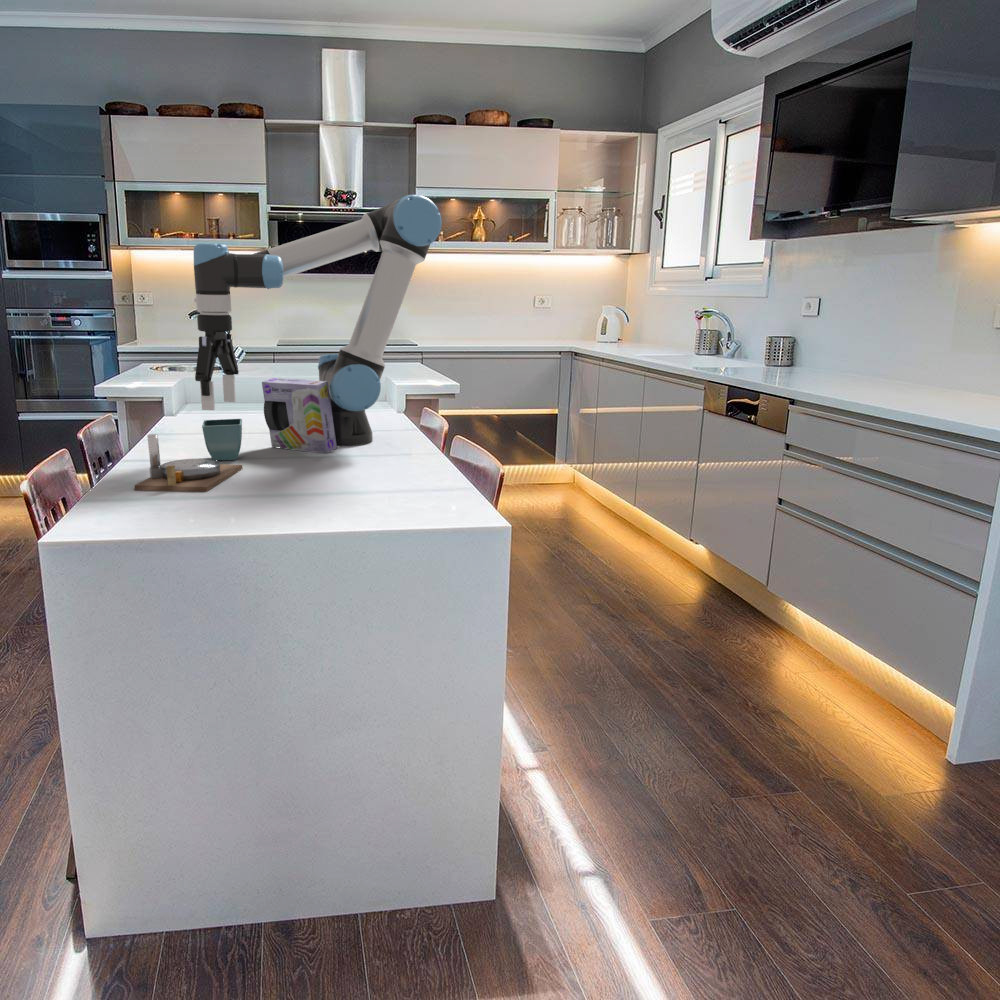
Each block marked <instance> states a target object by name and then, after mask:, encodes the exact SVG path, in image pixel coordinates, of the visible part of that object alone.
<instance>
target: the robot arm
mask: <svg viewBox="0 0 1000 1000" xmlns="http://www.w3.org/2000/svg"><path fill="white" fill-rule="evenodd" d="M442 223H443V222H442V215H441V212H440V211H439V208H438V206H437V205H436V204H435V203H434V202H433V200H431V199H430V198H428V197H426V196H424V195H419V194H408V195H404V196H403V197H400V198H397V199H394V200H392V201H391V202H389V203H387V204H386V205H384V206H382V207H380V208H377V209H375V210H372V211H370V212H366V213H364V214H363V216H362V218H361V219H359V220H355V221H353V222H349V223H346V224H342V225H340V226H337V227H334V228H333V227H332V228H330V229H327V230H323V231H320V232H318V233H315V234H312V235H309V236H305V237H301V238H299V239H298V238H297V239H296V240H293V241H290V242H289V241H288V242H286V243H282V244H281V245H280V244H279V245H277V246H273V247H270V248H267V249H264V250H262V251H258V252H255V253H254V252H253V253H252V254H251V253H246V254H245V253H233V252H232V253H230V252H229V249H228V245H226V244H224V243H196V244H195V246H193V273H194V274H193V275H194V287H195V298H194V303H196V311H197V313H199V314H197V316H196V320H197V330H198V331H199V332H204V334H205V335H204V336H198V350H197V351H198V352H197V359H196V360H197V361H196V367H195V374H194V379H195V381H196V382H199V384H200V403H201V411H215V410H216V408H215V406H216V405H215V393H214V392H215V391H214V390H215V389H214V388H215V387H214V381H212V378H213V375H214V374H213V373H214V369H215V366H216V361H217V359H218V361H219V364H220V366H221V369H222V372H223V373H224V374H222V389H223V392H222V393H223V403H236V402H237V396H236V395H237V394H236V393H237V392H236V379H235V377H236V375H239V373H240V372H239V371H240V370H239V367H238V362H237V359H236V354H235V349H234V346H233V341H232V340H233V339H232V334H231V333H226V332H231V331H232V330H233V321H232V320H233V319H232V316H231V314H230V313H231V312H232V300H231V288H234V289H235V288H245V289H247V288H248V289H249V288H250V289H267V290H269V289H270V290H271V289H281V288H282V286H283V284H284V278H288V277H290V276H293V275H296V274H300V273H303V272H306V271H308V270H313V269H315V268H319V267H321V266H324V265H328V264H330V263H333V262H336V261H339V260H343V259H346V258H349V257H352V256H356V255H359V254H361V253H364V252H367V251H371V250H372V251H374V252H376V253H377V252H380V251H382V252H381V254H380V258H379V260H378V264H377V267H376V269H375V272H374V275H373V278H372V279H371V282H370V285H369V288H368V291H367V294H366V297H365V299H364V302H363V304H362V308H361V310H360V313H359V315H358V318H357V321H356V324H355V327H354V329H353V332H352V335H351V337H350V340H349V343H347V344H346V345H345V346H343V347H340V348H339V350H338V351H339V352H338V353H331V354H322V355H320V356H319V357H318V365H317V369H318V381H328V386H329V394H330V401H331V408H332V416H333V423H334V430H335V437H336V445H337V447H348V446H351V447H352V446H359V445H365V444H370V443H371V442H373V439H374V438H373V431H372V428H371V424H370V423H369V420H368V419H369V418H368V415H367V414H366V413H367V412H366V410H367V409H369V408H371V407H372V406H374V404H375V403H376V402H377V400H378V399H379V397H380V393H381V389H382V387H381V386H382V383H381V378H382V376H383V374H384V371H385V367H386V364H385V361H384V360H383V355H384V352H385V349H386V346H387V344H388V341H389V339H390V336H391V333H392V331H393V328H394V324H395V322H396V319H397V317H398V314H399V311H400V310H401V306H402V304H403V301H404V298H405V296H406V293H407V290H408V287H409V286H410V285H409V284H410V281H411V279H412V277H413V274H414V271H415V269H416V266H417V265H418V264H420V263H424V262H425V259H426V257H427V255H428V251H429V248H430V246H431V244H432V243H434V242H435V241H436V240H437V238H438V236H439V235H440V233H441V230H442V225H443V224H442Z"/></svg>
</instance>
